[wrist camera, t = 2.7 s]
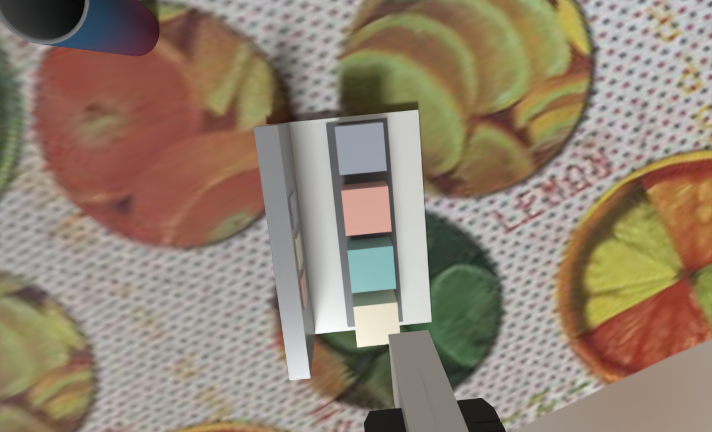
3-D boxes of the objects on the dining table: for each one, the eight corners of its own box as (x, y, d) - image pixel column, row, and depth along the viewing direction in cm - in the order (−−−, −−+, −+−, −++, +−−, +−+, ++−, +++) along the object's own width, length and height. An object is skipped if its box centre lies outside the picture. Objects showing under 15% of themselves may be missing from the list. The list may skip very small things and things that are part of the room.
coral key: (345, 227, 48) (345, 236, 45) (341, 185, 47) (341, 190, 44) (387, 222, 48) (391, 231, 45) (384, 180, 47) (387, 186, 44)
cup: (132, -23, 45) (33, -87, 30) (182, 34, 46) (110, -2, 32) (84, 25, 46) (-36, -16, 31) (134, 79, 47) (42, 65, 32)
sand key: (356, 331, 51) (357, 347, 48) (352, 293, 50) (353, 306, 47) (396, 327, 51) (400, 342, 48) (393, 289, 50) (397, 302, 47)
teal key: (350, 280, 50) (351, 293, 46) (346, 240, 49) (347, 250, 45) (392, 276, 50) (396, 288, 46) (389, 236, 49) (392, 246, 45)
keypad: (294, 331, 54) (284, 380, 44) (266, 124, 48) (247, 127, 39) (429, 318, 54) (449, 363, 44) (416, 109, 49) (436, 109, 39)
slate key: (339, 170, 47) (339, 175, 44) (335, 126, 46) (334, 127, 43) (383, 166, 47) (386, 170, 44) (379, 121, 46) (382, 122, 43)
